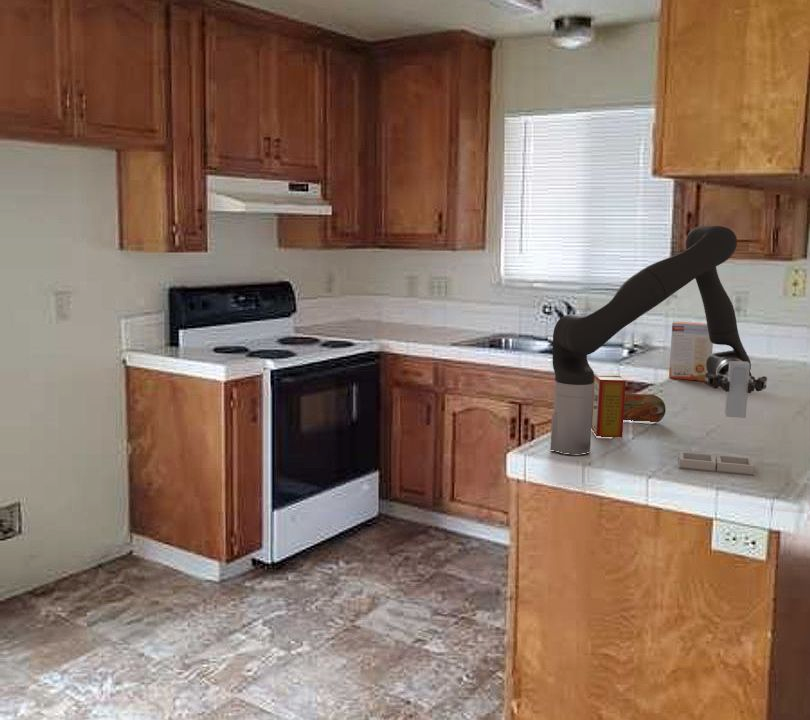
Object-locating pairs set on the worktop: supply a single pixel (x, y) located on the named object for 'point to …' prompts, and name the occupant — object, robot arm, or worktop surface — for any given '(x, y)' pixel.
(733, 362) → the plug
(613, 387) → the baking soda box
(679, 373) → the cracker box
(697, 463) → the grey divided tray
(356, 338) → the worktop surface
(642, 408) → the tin
